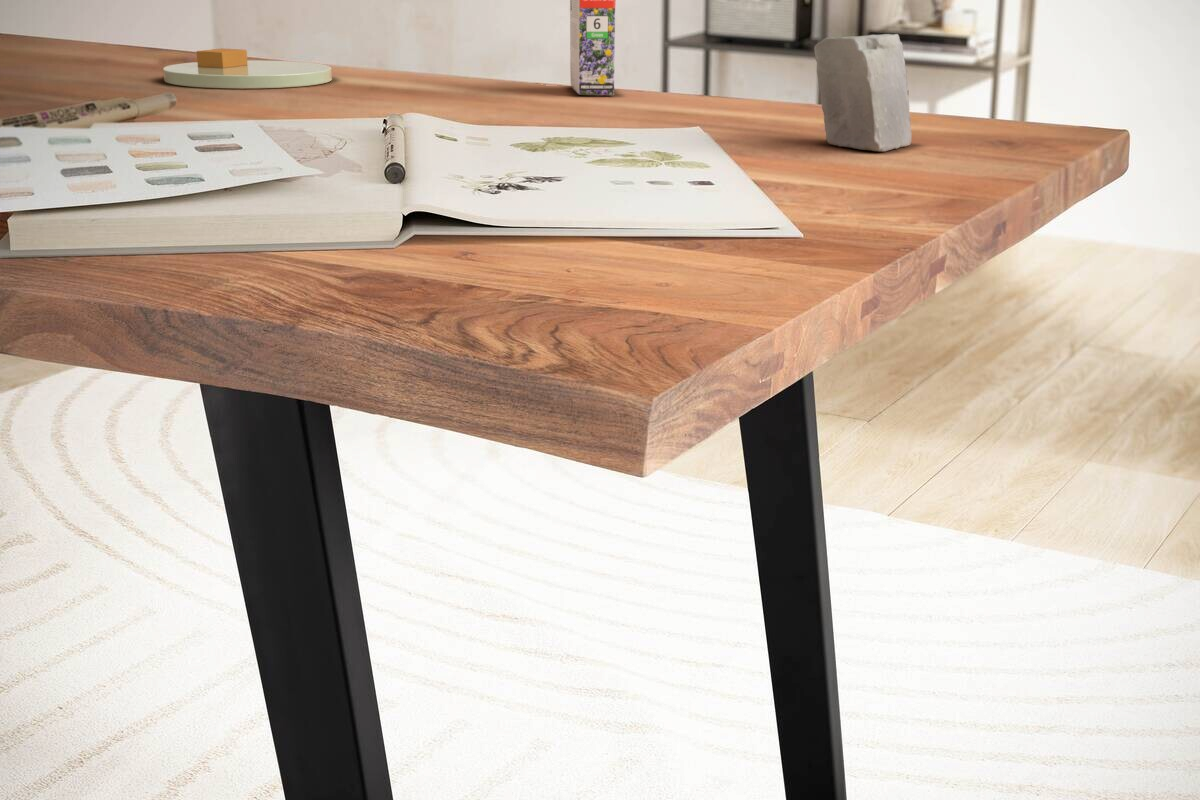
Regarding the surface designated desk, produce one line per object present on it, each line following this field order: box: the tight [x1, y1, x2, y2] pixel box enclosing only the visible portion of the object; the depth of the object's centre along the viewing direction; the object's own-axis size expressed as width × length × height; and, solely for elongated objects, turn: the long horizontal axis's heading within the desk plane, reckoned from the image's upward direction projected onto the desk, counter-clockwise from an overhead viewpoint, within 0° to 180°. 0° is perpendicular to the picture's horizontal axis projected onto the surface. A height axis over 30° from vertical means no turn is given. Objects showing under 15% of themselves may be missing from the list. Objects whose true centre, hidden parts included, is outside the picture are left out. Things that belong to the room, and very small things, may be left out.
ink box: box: [569, 0, 616, 96], centre depth 119 cm, size 4×8×15 cm, turn 7°
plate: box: [162, 59, 333, 90], centre depth 126 cm, size 16×16×1 cm
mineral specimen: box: [813, 32, 913, 152], centre depth 91 cm, size 7×9×8 cm
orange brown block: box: [196, 47, 248, 68], centre depth 126 cm, size 3×4×2 cm
